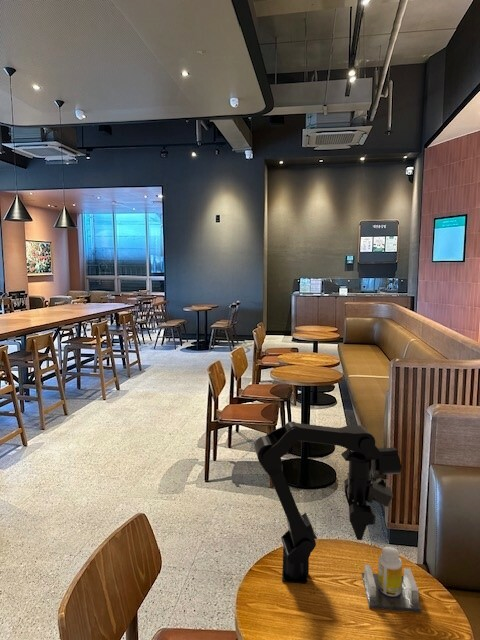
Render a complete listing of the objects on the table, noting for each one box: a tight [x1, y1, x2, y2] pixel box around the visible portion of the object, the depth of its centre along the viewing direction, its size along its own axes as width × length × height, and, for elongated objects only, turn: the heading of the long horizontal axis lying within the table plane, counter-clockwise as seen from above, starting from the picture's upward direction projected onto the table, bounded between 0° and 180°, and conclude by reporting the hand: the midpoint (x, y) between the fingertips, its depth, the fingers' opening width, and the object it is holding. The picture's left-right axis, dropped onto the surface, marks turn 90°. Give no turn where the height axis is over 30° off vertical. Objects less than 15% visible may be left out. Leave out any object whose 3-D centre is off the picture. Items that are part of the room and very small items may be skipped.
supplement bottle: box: [377, 546, 403, 596], centre depth 108 cm, size 6×6×10 cm
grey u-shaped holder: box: [361, 564, 422, 614], centre depth 108 cm, size 11×12×4 cm
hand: (357, 529), depth 115 cm, fingers open, 9 cm apart
